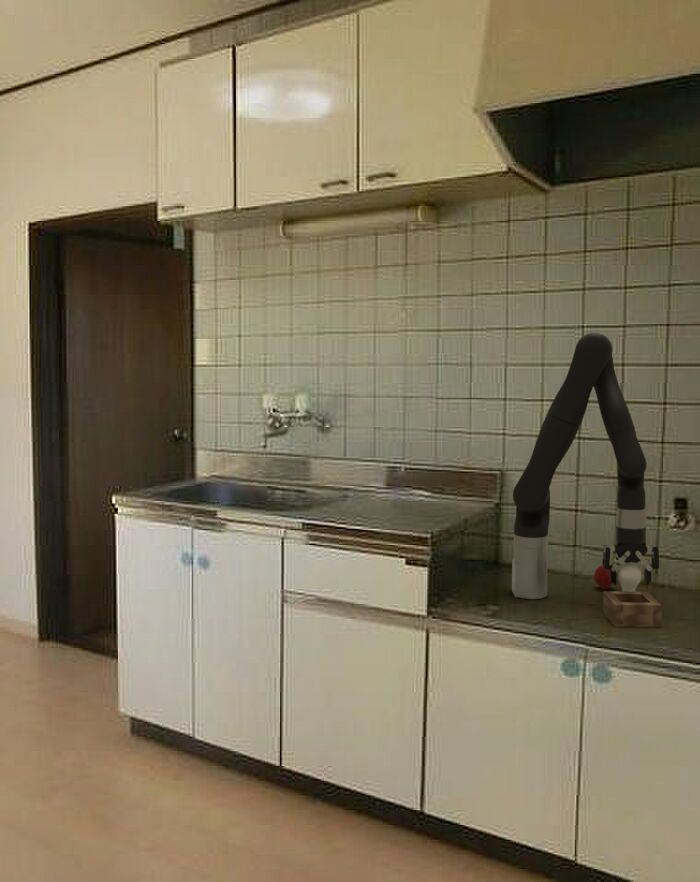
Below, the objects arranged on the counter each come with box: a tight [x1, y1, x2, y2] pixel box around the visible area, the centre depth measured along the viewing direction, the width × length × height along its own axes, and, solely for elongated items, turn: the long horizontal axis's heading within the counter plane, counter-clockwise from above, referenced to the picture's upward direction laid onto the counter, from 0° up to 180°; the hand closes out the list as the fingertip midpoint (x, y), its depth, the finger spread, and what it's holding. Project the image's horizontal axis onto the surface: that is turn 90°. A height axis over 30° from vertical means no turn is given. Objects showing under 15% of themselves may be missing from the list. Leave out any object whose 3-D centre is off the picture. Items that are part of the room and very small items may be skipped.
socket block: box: [602, 590, 663, 628], centre depth 198 cm, size 11×11×6 cm
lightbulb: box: [616, 562, 643, 592], centre depth 211 cm, size 6×6×11 cm
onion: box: [593, 564, 613, 590], centre depth 224 cm, size 6×6×8 cm
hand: (630, 584), depth 211 cm, fingers open, 8 cm apart
